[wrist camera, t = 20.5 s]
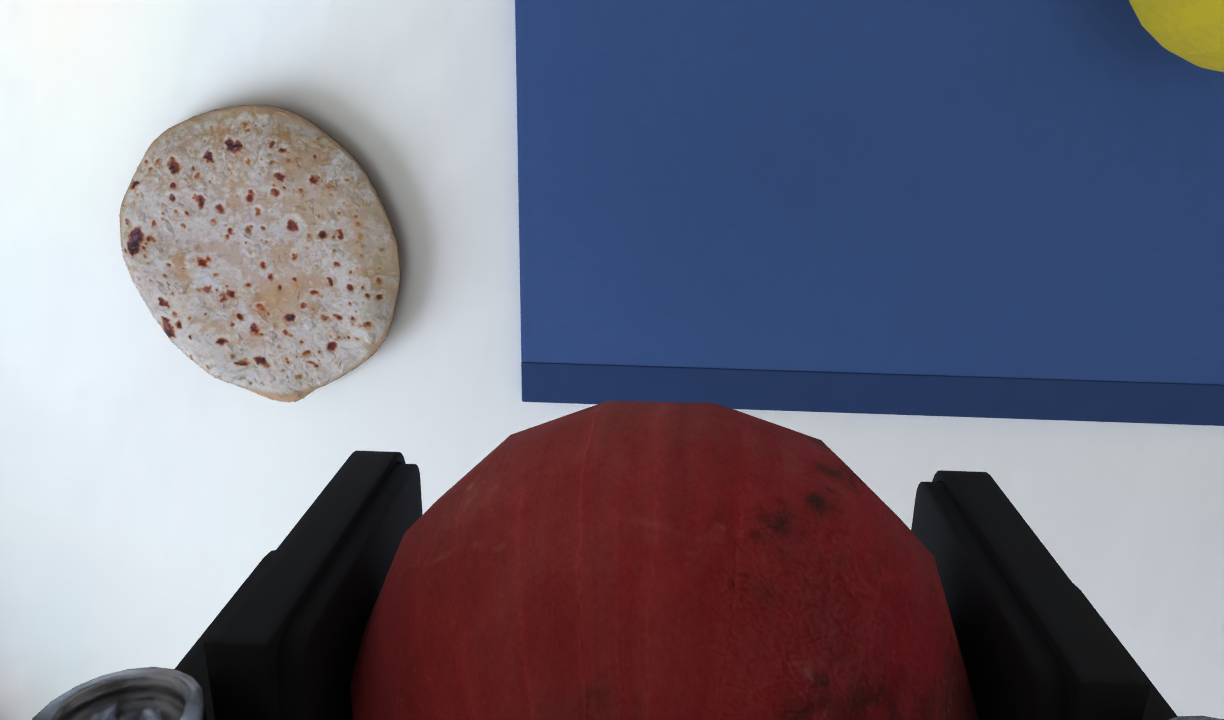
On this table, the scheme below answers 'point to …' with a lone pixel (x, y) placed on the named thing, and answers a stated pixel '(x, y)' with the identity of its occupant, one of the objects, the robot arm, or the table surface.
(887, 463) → the table surface
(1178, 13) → the lemon
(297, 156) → the flatbread
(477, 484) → the onion
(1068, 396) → the blue rectangular board
